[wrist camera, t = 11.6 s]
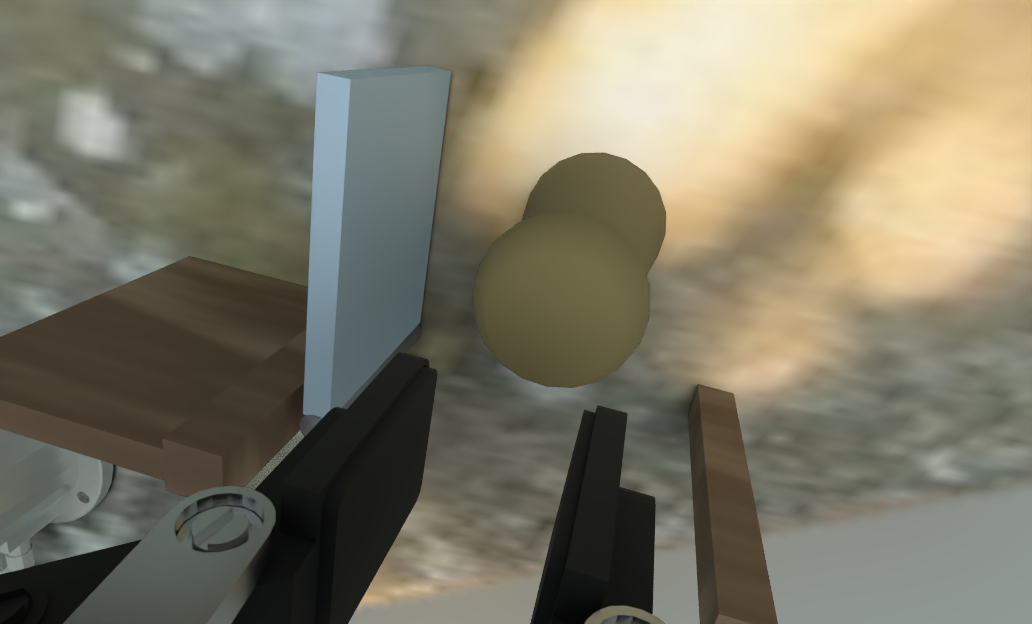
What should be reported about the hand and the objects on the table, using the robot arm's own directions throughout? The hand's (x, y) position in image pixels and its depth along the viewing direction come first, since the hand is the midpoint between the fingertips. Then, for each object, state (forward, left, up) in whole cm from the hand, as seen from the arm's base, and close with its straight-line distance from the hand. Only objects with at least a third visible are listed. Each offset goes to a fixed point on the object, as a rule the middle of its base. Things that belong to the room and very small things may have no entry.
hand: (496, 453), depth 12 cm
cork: (0, 0, -17) cm, 17 cm away
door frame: (-7, +6, -17) cm, 19 cm away
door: (-1, +8, -17) cm, 18 cm away
